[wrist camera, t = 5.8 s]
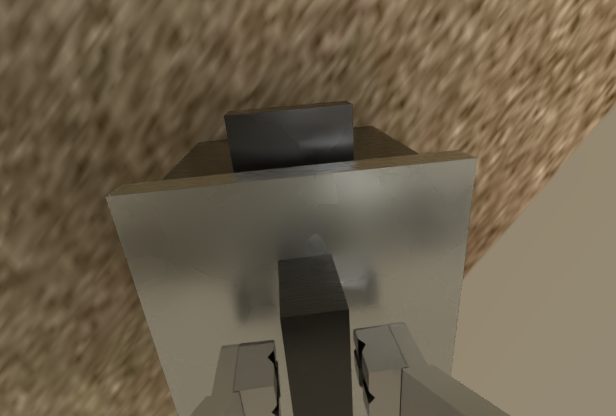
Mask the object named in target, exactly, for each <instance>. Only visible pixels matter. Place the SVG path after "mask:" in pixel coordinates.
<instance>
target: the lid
mask: <svg viewBox="0 0 616 416" xmlns="http://www.w3.org/2000/svg"><path fill="white" fill-rule="evenodd" d="M476 162H477V158H475V157H473V156H471V155H469V154H466V153H464V152H462V151H460V150H454V151H444V152H435V153H425V154H415V155H405V156H395V157H386V158H376V159H366V160H356V161H346V162H337V163H327V164H317V165H307V166H297V167H288V168H278V169H268V170H258V171H249V172H239V173H229V174H219V175H209V176H200V177H190V178H180V179H170V180H160V181H151V182H141V183H131V184H121V185H120V186H119V187H117V188H116V189H115V190H114V191H112V192H111V193H110V194H108V195H107V196H106V200H107V203H108V206H109V209H110V212H111V215H112V218H113V221H114V224H115V227H116V230H117V233H118V236H119V239H120V242H121V245H122V248H123V251H124V254H125V257H126V260H127V263H128V266H129V269H130V272H131V275H132V278H133V281H134V284H135V287H136V290H137V293H138V296H139V299H140V302H141V305H142V308H143V311H144V314H145V317H146V320H147V323H148V326H149V329H150V332H151V335H152V338H153V341H154V344H155V347H156V350H157V353H158V356H159V360H160V363H161V366H162V369H163V372H164V375H165V378H166V381H167V384H168V387H169V390H170V393H171V396H172V399H173V402H174V405H175V408H176V411H177V414H178V416H190V415H191V414H192V412H193V411H194V410H195V409H196V408H197V407H198V405H199V404H200V403H201V402H202V401H203V400H204V398H205V397H207V396H212V391H213V385H214V380H215V374H216V369H217V363H218V358H219V353H220V349H221V347H222V346H224V345H234V344H240V343H248V342H258V341H267V340H274V341H275V346H276V360H277V361H278V366H279V375H280V390H281V397H280V398H279V400H280V407H281V416H368V415H367V412H366V408H365V405H364V401H363V388H362V387H361V386H359V383H358V379H357V375H356V370H355V363H354V350H355V349H356V347H355V344H354V340H353V330H354V329H357V328H364V327H371V326H378V325H387V324H391V323H398V322H404V323H406V325H407V327H408V329H409V330H410V332H411V334H412V336H413V338H414V340H415V342H416V344H417V346H418V347H419V349H420V351H421V353H422V355H423V357H424V359H425V361H426V363H427V364H428V365H434V366H436V367H438V368H439V369H441V370H442V371H444V372H445V373H447V374H448V375H450V376H451V371H452V362H453V354H454V346H455V337H456V329H457V321H458V312H459V304H460V296H461V287H462V279H463V271H464V262H465V254H466V246H467V237H468V229H469V221H470V212H471V204H472V196H473V187H474V179H475V170H476Z"/></svg>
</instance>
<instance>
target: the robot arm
mask: <svg viewBox="0 0 616 416" xmlns="http://www.w3.org/2000/svg"><path fill="white" fill-rule="evenodd" d="M353 340H354V344H355V347H356V349H355V350H354V363H355V370H356V375H357V379H358V383H359V386H361V387H362V388H363V401H364V405H365V408H366V412H367V415H368V416H510V415H508V414H507V413H505V412H504V411H502V410H501V409H499V408H498V407H496V406H495V405H493V404H492V403H490V402H489V401H487V400H486V399H484V398H483V397H481V396H480V395H478V394H477V393H475V392H473V391H472V390H471V389H469V388H468V387H466V386H465V385H463V384H462V383H460V382H459V381H457V380H455V379H454V378H453V377H451V376H450V375H448V374H447V373H445V372H444V371H442V370H441V369H439V368H438V367H436V366H434V365H428V364H427V363H426V361H425V359H424V357H423V355H422V353H421V351H420V349H419V347H418V346H417V344H416V342H415V340H414V338H413V336H412V334H411V332H410V330H409V329H408V327H407V325H406V323H404V322H398V323H391V324H387V325H378V326H371V327H364V328H357V329H354V330H353ZM280 397H281V390H280V375H279V366H278V361H277V360H276V346H275V341H274V340H267V341H258V342H248V343H240V344H234V345H224V346H222V347H221V349H220V353H219V358H218V363H217V369H216V374H215V380H214V385H213V391H212V396H207V397H205V398H204V400H203V401H202V402H201V403H200V404H199V405H198V407H197V408H196V409H195V410H194V411H193V412H192V414H191V415H190V416H281V407H280V400H279V398H280Z"/></svg>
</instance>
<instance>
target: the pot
mask: <svg viewBox="0 0 616 416" xmlns="http://www.w3.org/2000/svg"><path fill="white" fill-rule="evenodd" d="M224 119H225V125H226V131H227V137H228V140H221V141H210V142H200V143H198V144H197V145H196V146H195V147H194V148H193V149H192V150H191V151H190V152H189V153H188V154H187V155H186V156H185V157H184V158H183V159H182V160H181V161H180V162H179V163H178V164H177V166H176V167H175V168H174V169H173V170H172V171H171V172H170V173H169V174H168V175H167V176H166V177H165V178H164V179H163V180H170V179H180V178H190V177H200V176H209V175H219V174H229V173H239V172H249V171H258V170H268V169H278V168H288V167H297V166H307V165H317V164H327V163H337V162H346V161H356V160H366V159H376V158H386V157H395V156H405V155H415V154H418V153H416V152H415V151H413V150H411V149H410V148H408V147H406V146H405V145H403V144H401V143H400V142H398V141H396V140H395V139H393V138H391V137H390V136H388V135H386V134H385V133H383V132H381V131H379V130H378V129H376V128H374V127H373V126H367V127H357V128H353V109H352V104H351V103H349V102H347V101H340V102H329V103H318V104H307V105H296V106H285V107H274V108H263V109H252V110H241V111H230V112H227V113H226V114H225V115H224Z"/></svg>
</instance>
